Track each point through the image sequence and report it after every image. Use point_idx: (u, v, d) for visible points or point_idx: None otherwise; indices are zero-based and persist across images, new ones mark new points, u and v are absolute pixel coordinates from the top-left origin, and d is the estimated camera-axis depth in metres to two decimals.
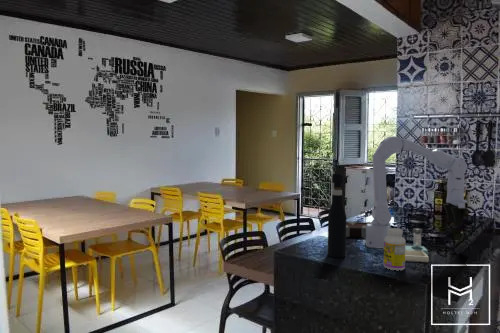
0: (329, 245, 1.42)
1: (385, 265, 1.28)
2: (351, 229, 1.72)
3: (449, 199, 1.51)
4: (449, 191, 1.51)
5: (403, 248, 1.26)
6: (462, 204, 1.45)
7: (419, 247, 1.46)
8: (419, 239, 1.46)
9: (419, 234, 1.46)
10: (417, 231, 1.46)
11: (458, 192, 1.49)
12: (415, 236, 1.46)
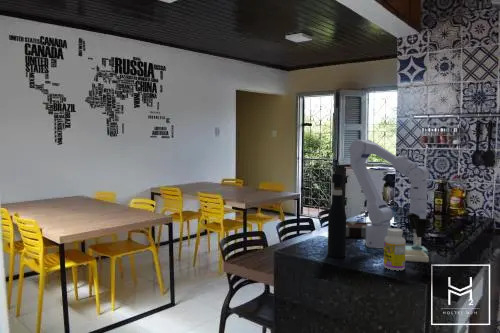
0: (329, 245, 1.42)
1: (385, 265, 1.28)
2: (351, 229, 1.73)
3: (411, 209, 1.46)
4: (411, 201, 1.46)
5: (403, 248, 1.26)
6: (423, 215, 1.40)
7: (419, 247, 1.46)
8: (419, 239, 1.46)
9: None
10: None
11: (420, 202, 1.44)
12: (415, 236, 1.46)
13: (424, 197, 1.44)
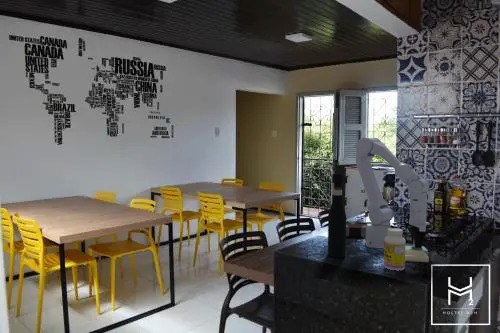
0: (329, 245, 1.42)
1: (385, 265, 1.28)
2: (351, 229, 1.73)
3: (411, 221, 1.46)
4: (411, 213, 1.46)
5: (403, 248, 1.26)
6: (423, 227, 1.40)
7: None
8: None
9: None
10: None
11: (420, 214, 1.44)
12: None
13: (424, 209, 1.44)
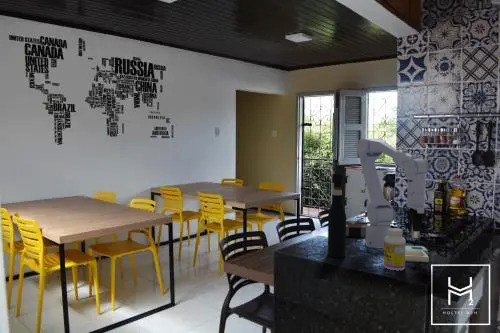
0: (329, 245, 1.42)
1: (385, 265, 1.28)
2: (350, 228, 1.74)
3: (409, 203, 1.39)
4: (409, 195, 1.39)
5: (403, 248, 1.26)
6: (421, 209, 1.33)
7: (418, 231, 1.40)
8: None
9: None
10: None
11: (418, 196, 1.37)
12: None
13: (419, 191, 1.37)
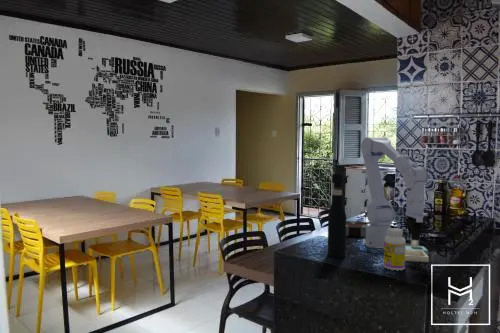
0: (329, 245, 1.42)
1: (385, 265, 1.28)
2: (350, 228, 1.74)
3: (408, 212, 1.39)
4: (408, 203, 1.38)
5: (403, 248, 1.26)
6: (420, 218, 1.32)
7: (417, 240, 1.39)
8: None
9: None
10: None
11: (417, 204, 1.36)
12: None
13: (418, 199, 1.36)
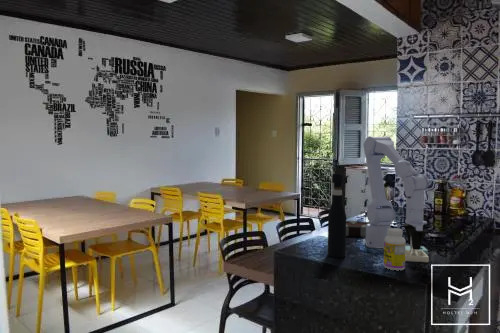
0: (329, 245, 1.42)
1: (385, 265, 1.28)
2: (350, 228, 1.74)
3: (407, 220, 1.39)
4: (407, 211, 1.39)
5: (403, 248, 1.26)
6: (420, 226, 1.32)
7: (416, 251, 1.39)
8: None
9: None
10: None
11: (417, 213, 1.37)
12: None
13: (417, 208, 1.36)
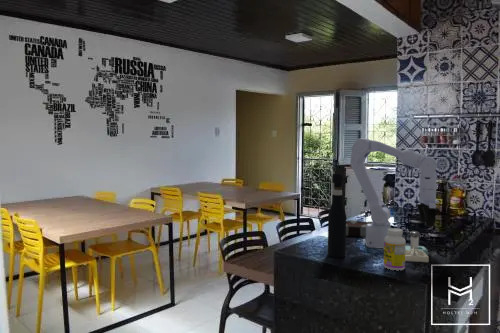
0: (329, 245, 1.42)
1: (385, 265, 1.28)
2: (350, 228, 1.75)
3: (421, 199, 1.48)
4: (421, 191, 1.48)
5: (403, 248, 1.26)
6: (433, 204, 1.42)
7: (416, 251, 1.39)
8: (416, 243, 1.39)
9: (416, 237, 1.39)
10: (414, 234, 1.38)
11: (430, 192, 1.46)
12: (412, 240, 1.39)
13: (435, 187, 1.46)
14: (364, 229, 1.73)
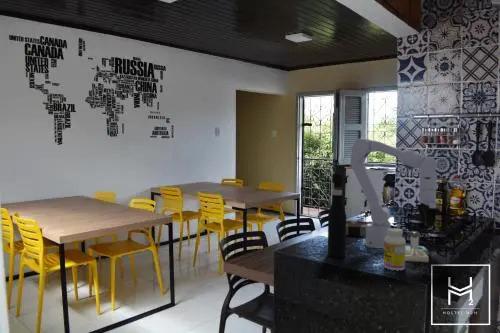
0: (329, 245, 1.42)
1: (385, 265, 1.28)
2: (350, 228, 1.75)
3: (421, 199, 1.48)
4: (421, 191, 1.48)
5: (403, 248, 1.26)
6: (433, 204, 1.42)
7: (416, 251, 1.39)
8: (416, 243, 1.39)
9: (416, 237, 1.39)
10: (414, 234, 1.38)
11: (430, 192, 1.46)
12: (412, 240, 1.39)
13: (435, 187, 1.46)
14: (364, 229, 1.73)
